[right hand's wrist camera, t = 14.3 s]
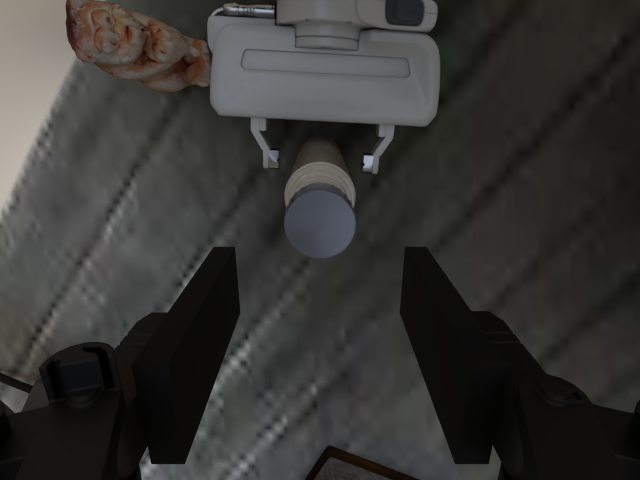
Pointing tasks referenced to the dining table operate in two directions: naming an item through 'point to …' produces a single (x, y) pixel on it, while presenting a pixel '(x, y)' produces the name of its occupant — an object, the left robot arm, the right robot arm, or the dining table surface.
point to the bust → (350, 468)
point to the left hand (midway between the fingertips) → (320, 170)
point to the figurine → (136, 46)
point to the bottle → (320, 168)
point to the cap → (319, 221)
